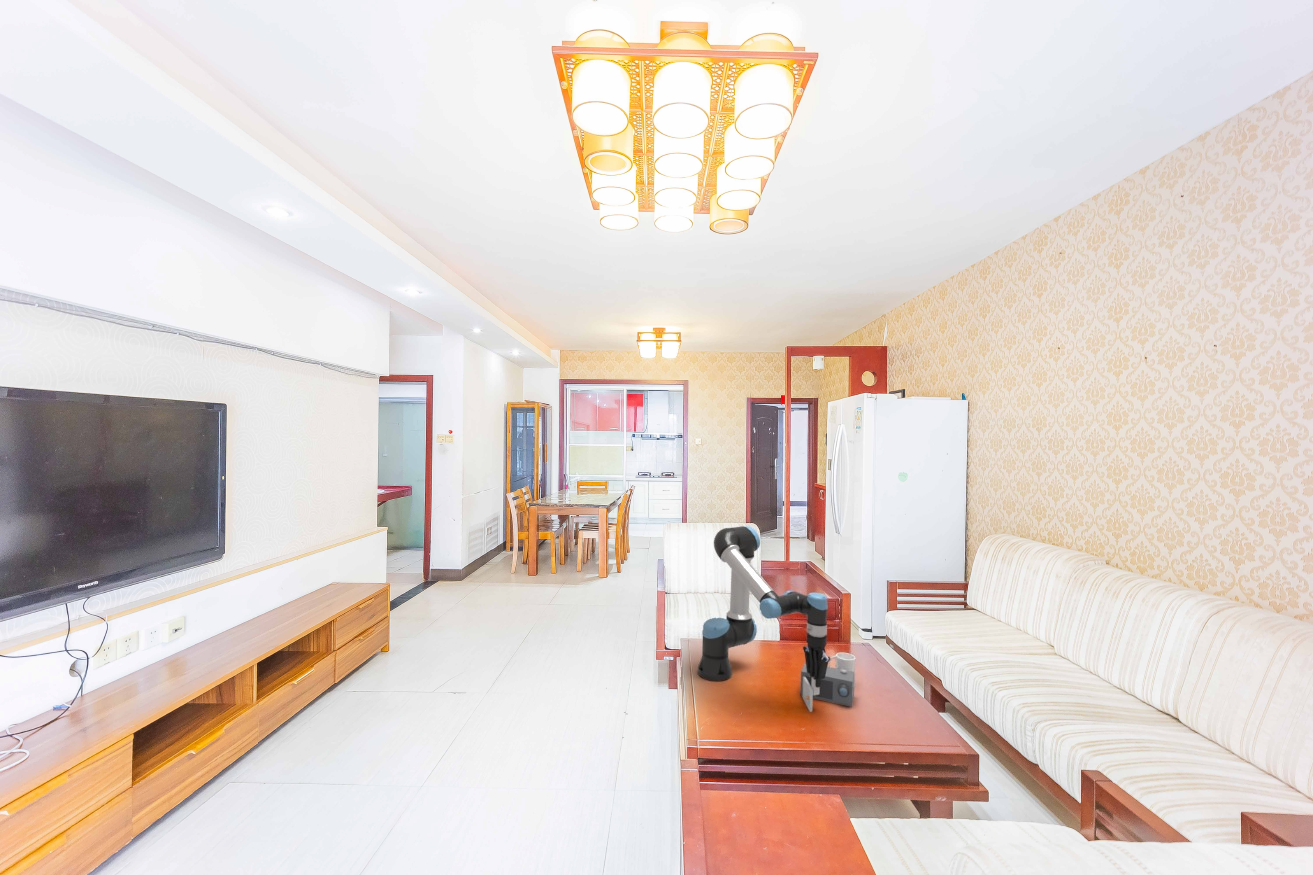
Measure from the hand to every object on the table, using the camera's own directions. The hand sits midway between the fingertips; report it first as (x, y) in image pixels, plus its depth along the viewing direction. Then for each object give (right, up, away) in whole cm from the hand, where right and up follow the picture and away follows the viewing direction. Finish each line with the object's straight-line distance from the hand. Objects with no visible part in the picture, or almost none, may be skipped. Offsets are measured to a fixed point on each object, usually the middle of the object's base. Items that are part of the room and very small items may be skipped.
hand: (815, 693), depth 210 cm
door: (-3, -6, +4) cm, 7 cm away
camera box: (+8, -6, +11) cm, 15 cm away
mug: (+19, -7, +24) cm, 31 cm away
